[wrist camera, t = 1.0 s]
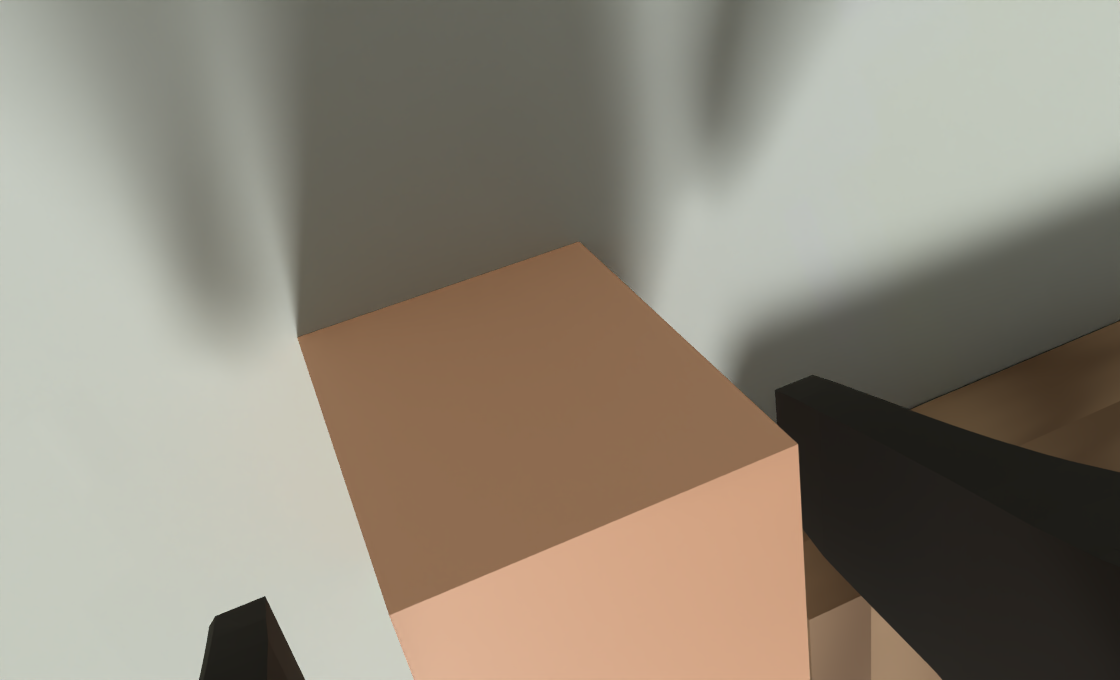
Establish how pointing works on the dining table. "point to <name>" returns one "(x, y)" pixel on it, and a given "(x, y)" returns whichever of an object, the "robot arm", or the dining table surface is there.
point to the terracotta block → (563, 485)
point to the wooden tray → (1000, 413)
